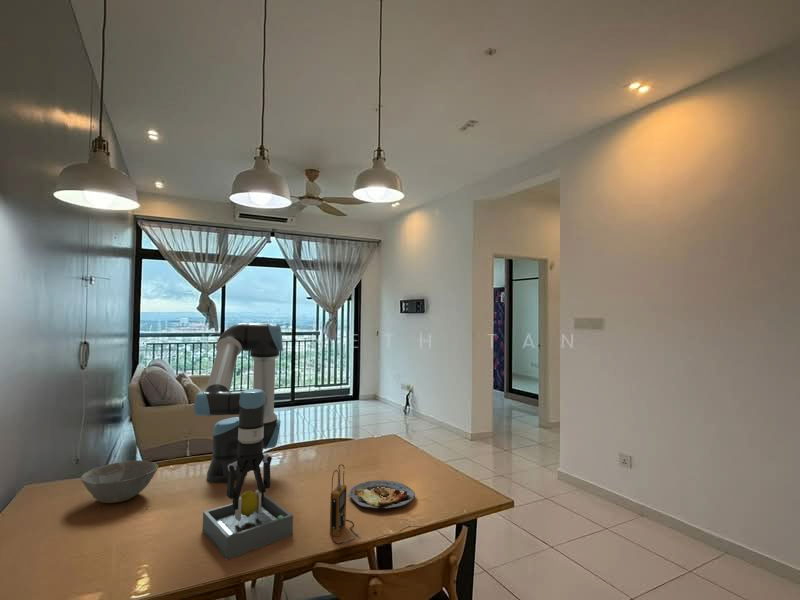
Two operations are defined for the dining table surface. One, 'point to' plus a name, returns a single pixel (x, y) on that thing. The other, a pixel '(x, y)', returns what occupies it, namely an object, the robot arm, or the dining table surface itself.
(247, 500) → the lemon
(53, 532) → the dining table surface
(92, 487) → the ceramic bowl
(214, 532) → the gray open box
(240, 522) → the gray picture frame
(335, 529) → the multimeter
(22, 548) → the dining table surface
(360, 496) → the food plate
